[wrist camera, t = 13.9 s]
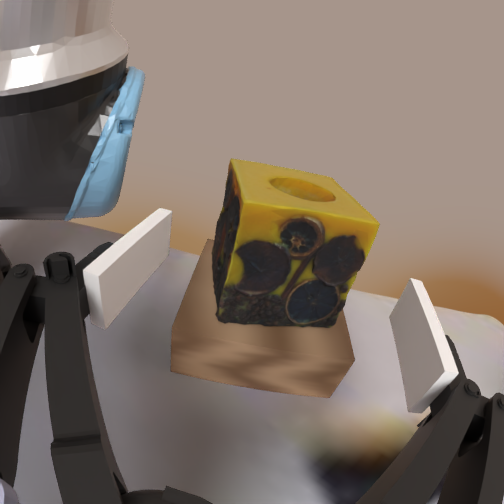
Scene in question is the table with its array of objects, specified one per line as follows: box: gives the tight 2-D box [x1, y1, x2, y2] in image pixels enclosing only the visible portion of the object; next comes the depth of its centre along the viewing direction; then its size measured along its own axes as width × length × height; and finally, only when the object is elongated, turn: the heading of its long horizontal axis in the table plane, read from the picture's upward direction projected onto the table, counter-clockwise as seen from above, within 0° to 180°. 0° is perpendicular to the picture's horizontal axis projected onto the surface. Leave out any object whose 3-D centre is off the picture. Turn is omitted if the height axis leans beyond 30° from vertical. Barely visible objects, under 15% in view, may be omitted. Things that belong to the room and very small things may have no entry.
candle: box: [211, 159, 380, 328], centre depth 25 cm, size 10×10×10 cm
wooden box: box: [171, 239, 355, 398], centre depth 29 cm, size 14×14×6 cm
